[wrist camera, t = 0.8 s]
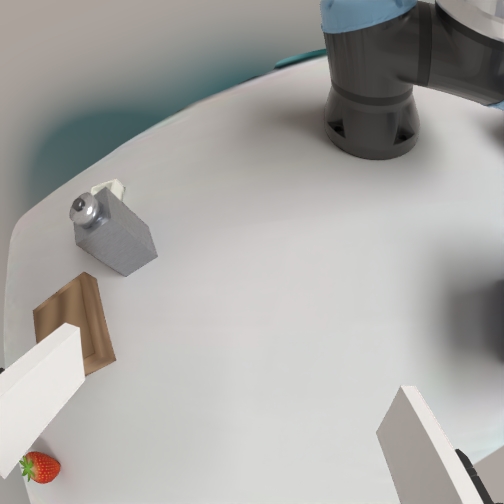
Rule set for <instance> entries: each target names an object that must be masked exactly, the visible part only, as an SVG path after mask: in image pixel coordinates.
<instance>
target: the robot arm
mask: <svg viewBox="0 0 504 504" xmlns="http://www.w3.org/2000/svg"><path fill="white" fill-rule="evenodd" d="M320 10H321V17H322V24H321V28H322V31H323V33H324V38H325V44H326V50H327V56H328V62H329V69H330V76H331V83H332V86H331V90H330V93H329V97H328V100H327V104H326V107H325V111H324V121H325V128H326V132H327V134H328V136H329V138H330V139H331V140H332V142H333V143H334V144H335V145H337V146H338V147H339V148H341V149H342V150H344V151H346V152H348V153H350V154H352V155H355V156H358V157H361V158H366V159H374V160H384V159H391V158H395V157H398V156H401V155H403V154H405V153H407V152H408V151H409V150H411V149H412V148H413V146H414V145H415V143H416V141H417V139H418V133H419V127H420V122H419V116H418V112H417V108H416V104H415V101H414V97H413V93H412V90H413V85H418V86H423V87H427V88H431V89H434V90H438V91H442V92H445V93H449V94H452V95H456V96H459V97H462V98H465V99H468V100H471V101H474V102H477V103H480V104H482V105H483V106H487V107H494V108H497V109H501V110H504V0H435V4H431V3H426V2H422V1H417V0H321V2H320ZM84 381H85V374H84V366H83V357H82V348H81V337H80V328H79V327H76V326H73V325H71V324H68V323H64V324H63V325H62V326H60V327H59V328H58V329H56V330H55V331H54V332H52V333H51V334H50V335H48V336H47V337H46V338H45V339H43V340H42V341H41V342H39V343H38V344H37V345H36V346H34V347H33V348H32V349H31V350H29V351H28V352H27V353H26V354H24V355H23V356H22V357H21V358H19V359H18V360H17V361H16V362H14V363H13V364H12V365H11V366H10V367H8V368H7V369H6V370H5V369H3V368H0V476H1V477H3V478H4V479H6V477H7V476H8V475H9V473H10V472H11V471H12V469H13V468H14V467H15V466H16V464H17V463H18V462H19V460H20V459H21V458H22V457H23V455H24V454H25V453H26V451H27V450H28V449H29V448H30V446H31V445H32V444H33V443H34V441H35V440H36V439H37V438H38V436H39V435H40V434H41V433H42V431H43V430H44V429H45V428H46V427H47V425H48V424H49V423H50V422H51V420H52V419H53V418H54V417H55V416H56V414H57V413H58V412H59V411H60V410H61V408H62V407H63V406H64V405H65V404H66V402H67V401H68V400H69V399H70V398H71V397H72V395H73V394H74V393H75V392H76V391H77V389H78V388H79V387H80V386H81V385H82V384H83V382H84ZM376 434H377V437H378V440H379V442H380V445H381V448H382V451H383V453H384V456H385V459H386V462H387V464H388V467H389V470H390V473H391V476H392V479H393V482H394V485H395V488H396V490H397V493H398V496H399V499H400V502H401V504H494V503H493V501H492V500H491V498H490V496H489V494H488V492H487V490H486V489H485V487H484V485H483V483H482V481H481V480H480V478H479V476H477V472H476V471H475V469H474V468H472V467H473V466H472V464H471V462H470V460H469V459H468V457H467V456H466V455H465V454H464V453H463V452H461V451H460V450H459V449H455V450H454V448H453V447H452V445H451V443H450V442H449V440H448V438H447V436H446V435H445V433H444V431H443V430H442V428H441V426H440V425H439V423H438V421H437V420H436V418H435V417H434V415H433V413H432V412H431V410H430V408H429V407H428V405H427V404H426V402H425V400H424V399H423V397H422V396H421V394H420V393H419V391H418V389H417V388H416V386H400V388H399V390H398V392H397V394H396V396H395V398H394V400H393V402H392V404H391V406H390V408H389V410H388V412H387V414H386V415H385V417H384V419H383V421H382V423H381V425H380V426H379V428H378V430H377V432H376ZM496 504H503V503H496Z"/></svg>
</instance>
